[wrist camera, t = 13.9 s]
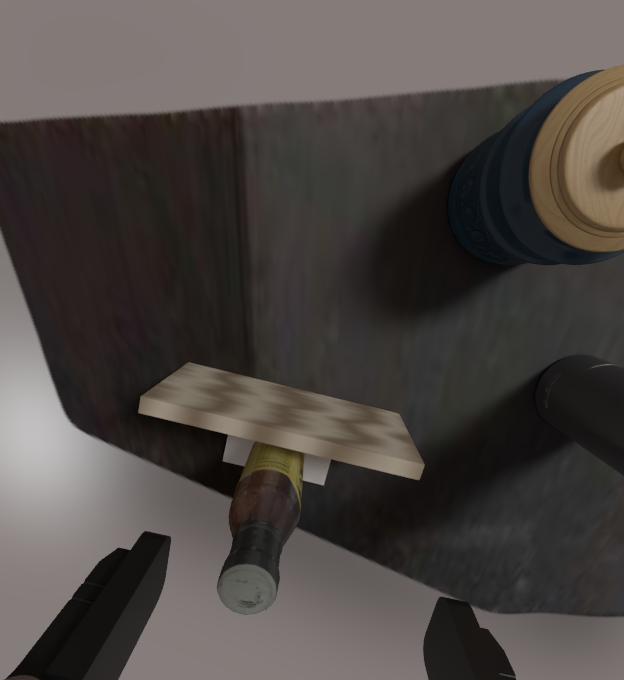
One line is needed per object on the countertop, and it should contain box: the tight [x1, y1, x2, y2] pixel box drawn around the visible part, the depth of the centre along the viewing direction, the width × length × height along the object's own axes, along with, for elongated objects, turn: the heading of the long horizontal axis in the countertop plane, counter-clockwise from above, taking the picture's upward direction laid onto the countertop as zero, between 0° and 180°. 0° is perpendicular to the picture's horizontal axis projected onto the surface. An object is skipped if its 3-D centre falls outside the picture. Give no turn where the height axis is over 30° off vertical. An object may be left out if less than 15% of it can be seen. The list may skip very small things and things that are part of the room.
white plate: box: [223, 435, 331, 485], centre depth 42 cm, size 13×8×1 cm, turn 76°
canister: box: [447, 65, 624, 265], centre depth 28 cm, size 13×13×18 cm
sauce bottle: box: [217, 441, 305, 615], centre depth 32 cm, size 7×6×20 cm
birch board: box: [138, 362, 425, 480], centre depth 36 cm, size 26×2×11 cm, turn 76°
